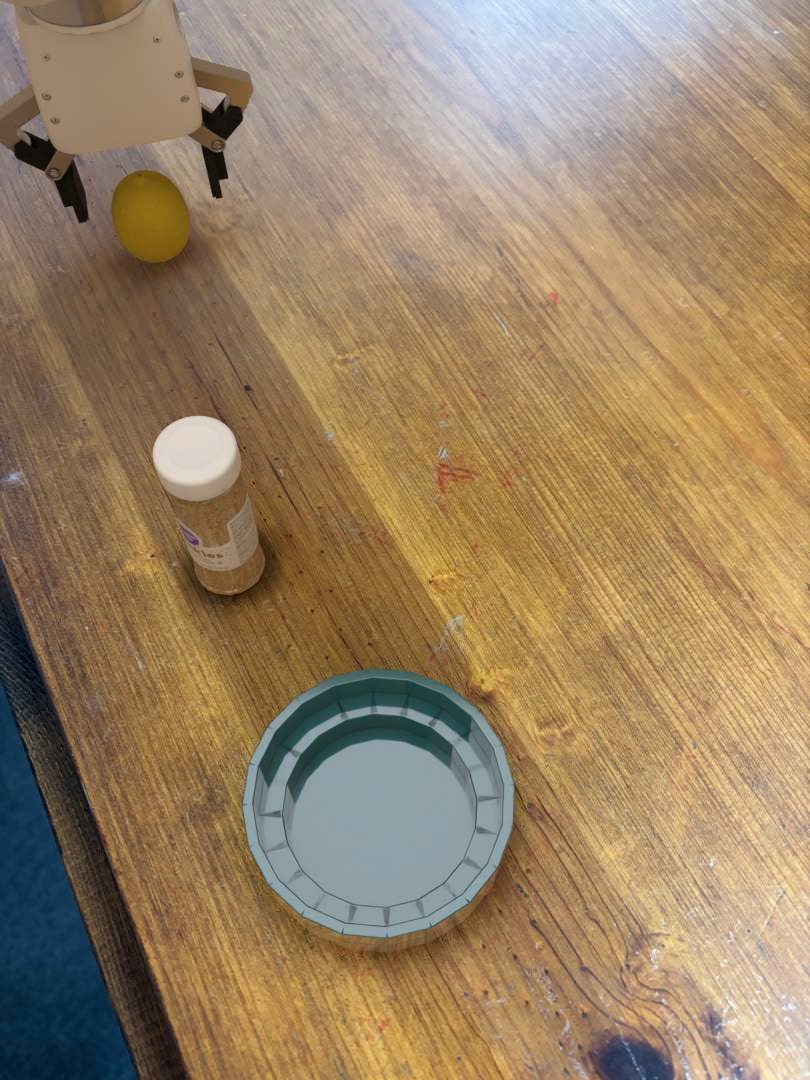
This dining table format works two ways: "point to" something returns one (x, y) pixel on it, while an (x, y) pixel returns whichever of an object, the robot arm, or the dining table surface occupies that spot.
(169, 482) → the sprinkles bottle
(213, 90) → the robot arm
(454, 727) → the bowl
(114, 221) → the lemon
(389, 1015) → the dining table surface
